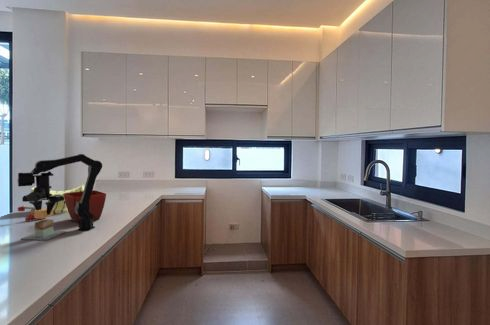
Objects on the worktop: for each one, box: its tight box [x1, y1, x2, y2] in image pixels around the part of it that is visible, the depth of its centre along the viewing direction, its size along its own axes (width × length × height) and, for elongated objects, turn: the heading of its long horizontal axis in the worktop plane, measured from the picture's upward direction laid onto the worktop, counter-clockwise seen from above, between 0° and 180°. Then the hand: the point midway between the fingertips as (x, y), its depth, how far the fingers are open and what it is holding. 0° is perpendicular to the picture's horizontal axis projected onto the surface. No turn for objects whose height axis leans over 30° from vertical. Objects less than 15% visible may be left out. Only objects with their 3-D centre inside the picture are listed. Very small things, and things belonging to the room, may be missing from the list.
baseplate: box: [20, 226, 67, 242], centre depth 155 cm, size 14×14×4 cm
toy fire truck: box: [17, 205, 46, 222], centre depth 184 cm, size 3×14×10 cm, turn 141°
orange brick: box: [33, 207, 54, 219], centre depth 154 cm, size 4×7×4 cm, turn 171°
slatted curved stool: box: [30, 183, 85, 214], centre depth 212 cm, size 30×16×18 cm, turn 113°
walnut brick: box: [34, 218, 54, 231], centre depth 154 cm, size 4×7×4 cm, turn 176°
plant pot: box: [64, 189, 107, 224], centre depth 188 cm, size 19×19×17 cm
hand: (44, 214), depth 154 cm, fingers closed on orange brick, 5 cm apart
